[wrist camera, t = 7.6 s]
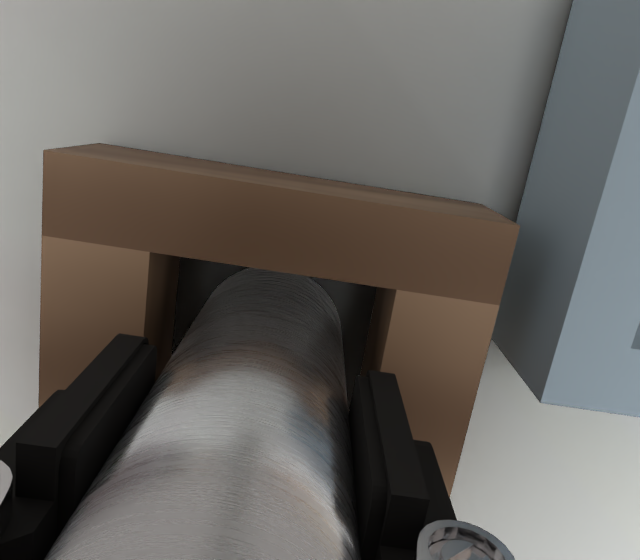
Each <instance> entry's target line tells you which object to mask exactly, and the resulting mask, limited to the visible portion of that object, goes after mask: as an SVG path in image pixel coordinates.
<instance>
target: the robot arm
mask: <svg viewBox="0 0 640 560" xmlns="http://www.w3.org/2000/svg"><path fill="white" fill-rule="evenodd" d="M156 362H157V347H156V346H154V345H149V341H148V338H147V337H141V336H134V335H128V334H121V333H119V334H117V335H116V336H115V337H114V338H113V340H112V341H111V342H110V343H109V344H108V345H107V346H106V347H105V348H104V349H103V350H102V351H101V352H100V353H99V354H98V355H97V357H96V358H95V359H94V360H93V361H92V362H91V363H90V364H89V365H88V366H87V367H86V368H85V369H84V370H83V371H82V373H81V374H80V375H79V376H78V377H77V378H76V379H75V380H74V381H73V382H72V383H71V384H70V385H69V386H68V387H67V388H66V390H57V391H56V392H54V393H53V394H52V395H51V396H50V397H49V398H48V399H47V400H46V401H45V402H44V403H43V404H42V405H41V406H40V407H39V409H38V410H37V411H36V412H35V413H34V414H33V415H32V416H31V417H30V418H29V419H28V420H27V421H26V422H25V423H24V424H23V425H22V426H21V427H20V428H19V429H18V430H17V431H16V432H15V433H14V434H13V435H12V436H11V437H10V438H9V439H8V440H7V441H6V442H5V444H4V445H3V446H2V447H1V448H0V560H44V559H45V557H46V555H47V554H48V552H49V551H50V549H51V548H52V546H53V544H54V543H55V541H56V540H57V538H58V536H59V535H60V533H61V532H62V530H63V528H64V527H65V525H66V524H67V522H68V520H69V519H70V517H71V516H72V514H73V513H74V511H75V509H76V508H77V506H78V505H79V503H80V501H81V500H82V498H83V497H84V495H85V493H86V492H87V490H88V489H89V487H90V485H91V484H92V482H93V481H94V479H95V478H96V476H97V474H98V473H99V471H100V470H101V468H102V466H103V465H104V463H105V462H106V460H107V458H108V457H109V455H110V454H111V452H112V451H113V449H114V447H115V446H116V444H117V443H118V441H119V439H120V438H121V436H122V435H123V433H124V431H125V430H126V428H127V427H128V425H129V423H130V422H131V420H132V419H133V417H134V416H135V414H136V412H137V411H138V409H139V408H140V406H141V404H142V403H143V401H144V400H145V398H146V396H147V395H148V393H149V392H150V390H151V388H152V387H153V385H154V384H155V374H156ZM349 425H350V436H351V448H352V460H353V472H354V484H355V495H356V507H357V519H358V531H359V542H360V554H361V560H515V559H514V556H513V555H512V554H511V552H510V551H509V550H508V548H507V547H506V546H505V545H504V544H503V543H502V542H501V541H499V540H498V539H497V538H496V537H495V536H494V535H492V534H490V533H489V532H487V531H485V530H483V529H482V528H480V527H477V526H475V525H472V524H469V523H466V522H462V521H457V519H456V516H455V513H454V510H453V507H452V504H451V501H450V498H449V495H448V492H447V489H446V486H445V483H444V480H443V477H442V474H441V471H440V468H439V465H438V462H437V459H436V456H435V453H434V450H433V447H432V445H431V443H430V442H427V441H420V440H413V437H412V433H411V429H410V426H409V422H408V419H407V415H406V411H405V408H404V404H403V400H402V397H401V393H400V390H399V386H398V382H397V379H396V375H395V374H393V373H386V372H380V371H373V370H368V371H367V373H366V376H359V375H357V377H356V380H355V384H354V390H353V395H352V400H351V405H350V410H349Z"/></svg>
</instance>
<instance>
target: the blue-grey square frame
mask: <svg viewBox="0 0 640 560" xmlns="http://www.w3.org/2000/svg"><path fill="white" fill-rule="evenodd" d="M516 223H517V224H518V225H520V229H519V233H518V237H517V241H516V245H515V248H514V252H513V256H512V260H511V264H510V268H509V271H508V275H507V279H506V283H505V287H504V291H503V294H502V298H501V302H500V306H499V310H498V314H497V317H496V321H495V325H494V329H493V333H492V337H491V338H492V340H493V341H494V342H495V344H496V345H497V346H498V347H499V349H500V350H501V351H502V353H503V354H504V355H505V357H506V358H507V359H508V361H509V362H510V363H511V365H512V366H513V367H514V369H515V370H516V371H517V373H518V374H519V375H520V377H521V378H522V379H523V381H524V382H525V383H526V385H527V386H528V387H529V388H530V390H531V391H532V392H533V394H534V395H535V396H536V398H537V399H538V400H539V402H540V403H545V404H552V405H559V406H566V407H573V408H579V409H586V410H593V411H600V412H607V413H614V414H620V415H627V416H634V417H640V0H573V3H572V7H571V11H570V15H569V19H568V23H567V27H566V30H565V34H564V38H563V42H562V46H561V50H560V54H559V58H558V61H557V65H556V69H555V73H554V77H553V81H552V85H551V89H550V92H549V96H548V100H547V104H546V108H545V112H544V116H543V120H542V123H541V127H540V131H539V135H538V139H537V143H536V147H535V151H534V154H533V158H532V162H531V166H530V170H529V174H528V178H527V182H526V185H525V189H524V193H523V197H522V201H521V205H520V209H519V213H518V217H517V220H516Z"/></svg>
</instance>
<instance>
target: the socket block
mask: <svg viewBox="0 0 640 560" xmlns="http://www.w3.org/2000/svg"><path fill="white" fill-rule="evenodd" d="M519 229H520V225H518V224H517V223H515V222H513V221H511V220H509V219H508V218H506V217H504V216H502V215H500V214H499V213H497V212H495V211H493V210H491V209H490V208H488V207H486V206H484V205H482V204H478V203H471V202H465V201H459V200H452V199H446V198H440V197H434V196H427V195H421V194H415V193H409V192H402V191H396V190H390V189H383V188H377V187H371V186H365V185H358V184H352V183H346V182H340V181H333V180H327V179H321V178H315V177H308V176H302V175H296V174H289V173H283V172H277V171H271V170H264V169H258V168H252V167H246V166H239V165H233V164H227V163H221V162H214V161H208V160H202V159H195V158H189V157H183V156H177V155H170V154H164V153H158V152H152V151H145V150H139V149H133V148H126V147H120V146H114V145H108V144H101V143H97V144H89V145H81V146H73V147H64V148H56V149H48V150H43V202H42V254H41V307H40V360H39V407H40V406H41V405H42V404H43V403H44V402H45V401H46V400H47V399H48V398H49V397H50V396H51V395H52V394H53V393H54V392H56V391H57V390H66V388H67V387H68V386H69V385H70V384H71V383H72V382H73V381H74V380H75V379H76V378H77V377H78V376H79V375H80V374H81V373H82V371H83V370H84V369H85V368H86V367H87V366H88V365H89V364H90V363H91V362H92V361H93V360H94V359H95V358H96V357H97V355H98V354H99V353H100V352H101V351H102V350H103V349H104V348H105V347H106V346H107V345H108V344H109V343H110V342H111V341H112V340H113V338H114V337H115V336H116V335H117V334H119V333H121V334H128V335H134V336H141V337H147V338H148V341H149V345H154V346H156V347H157V362H156V374H155V382H156V381H157V379H158V377H159V376H160V374H161V373H162V371H163V369H164V368H165V366H166V365H167V363H168V361H169V360H170V358H171V354H172V343H173V332H174V321H175V310H176V299H177V288H178V276H179V265H180V257H186V258H192V259H199V260H205V261H212V262H218V263H225V264H231V265H238V266H245V267H251V268H258V269H264V270H271V271H277V272H284V273H290V274H297V275H303V276H310V277H317V278H323V279H330V280H336V281H343V282H349V283H356V284H362V285H369V286H376V287H377V290H376V295H375V300H374V305H373V310H372V315H371V321H370V326H369V331H368V336H367V341H366V346H365V351H364V357H363V362H362V367H361V372H360V376H366V373H367V371H368V370H373V371H380V372H386V373H393V374H395V375H396V379H397V382H398V386H399V390H400V393H401V397H402V400H403V404H404V408H405V411H406V415H407V419H408V422H409V426H410V429H411V433H412V437H413V440H420V441H427V442H430V443H431V445H432V447H433V450H434V453H435V456H436V459H437V462H438V465H439V468H440V471H441V474H442V477H443V480H444V483H445V486H446V489H447V492H448V495H449V498H450V494H451V490H452V486H453V482H454V479H455V475H456V471H457V467H458V463H459V459H460V456H461V452H462V448H463V444H464V440H465V436H466V433H467V429H468V425H469V421H470V417H471V413H472V410H473V406H474V402H475V398H476V394H477V390H478V387H479V383H480V379H481V375H482V371H483V367H484V364H485V360H486V356H487V352H488V348H489V344H490V341H491V337H492V333H493V329H494V325H495V321H496V317H497V314H498V310H499V306H500V302H501V298H502V294H503V291H504V287H505V283H506V279H507V275H508V271H509V268H510V264H511V260H512V256H513V252H514V248H515V245H516V241H517V237H518V233H519Z"/></svg>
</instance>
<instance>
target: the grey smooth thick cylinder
mask: <svg viewBox="0 0 640 560" xmlns="http://www.w3.org/2000/svg"><path fill="white" fill-rule="evenodd" d="M44 560H361V554H360V542H359V531H358V519H357V507H356V495H355V484H354V472H353V460H352V448H351V436H350V425H349V413H348V401H347V389H346V378H345V366H344V354H343V342H342V331H341V323H340V318H339V315H338V312H337V309H336V307H335V305H334V303H333V301H332V300H331V298H330V297H329V295H328V294H327V293H326V292H325V290H324V289H323V288H322V287H321V286H320V285H319V284H317V283H316V282H315V281H314V280H312V279H311V278H309V277H308V276H303V275H297V274H290V273H284V272H277V271H271V270H264V269H258V268H248V269H245V270H242V271H240V272H237V273H235V274H233V275H232V276H230V277H228V278H227V279H225V280H224V281H223V282H222V283H221V284H219V285H218V286H217V288H216V289H215V290H214V291H213V292H212V294H211V295H210V296H209V298H208V299H207V301H206V303H205V304H204V306H203V307H202V309H201V311H200V312H199V314H198V315H197V317H196V318H195V320H194V322H193V323H192V325H191V326H190V328H189V330H188V331H187V333H186V334H185V336H184V338H183V339H182V341H181V342H180V344H179V346H178V347H177V349H176V350H175V352H174V353H173V355H172V357H171V358H170V360H169V361H168V363H167V365H166V366H165V368H164V369H163V371H162V373H161V374H160V376H159V377H158V379H157V381H156V382H155V384H154V385H153V387H152V388H151V390H150V392H149V393H148V395H147V396H146V398H145V400H144V401H143V403H142V404H141V406H140V408H139V409H138V411H137V412H136V414H135V416H134V417H133V419H132V420H131V422H130V423H129V425H128V427H127V428H126V430H125V431H124V433H123V435H122V436H121V438H120V439H119V441H118V443H117V444H116V446H115V447H114V449H113V451H112V452H111V454H110V455H109V457H108V458H107V460H106V462H105V463H104V465H103V466H102V468H101V470H100V471H99V473H98V474H97V476H96V478H95V479H94V481H93V482H92V484H91V485H90V487H89V489H88V490H87V492H86V493H85V495H84V497H83V498H82V500H81V501H80V503H79V505H78V506H77V508H76V509H75V511H74V513H73V514H72V516H71V517H70V519H69V520H68V522H67V524H66V525H65V527H64V528H63V530H62V532H61V533H60V535H59V536H58V538H57V540H56V541H55V543H54V544H53V546H52V548H51V549H50V551H49V552H48V554H47V555H46V557H45V559H44Z"/></svg>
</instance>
